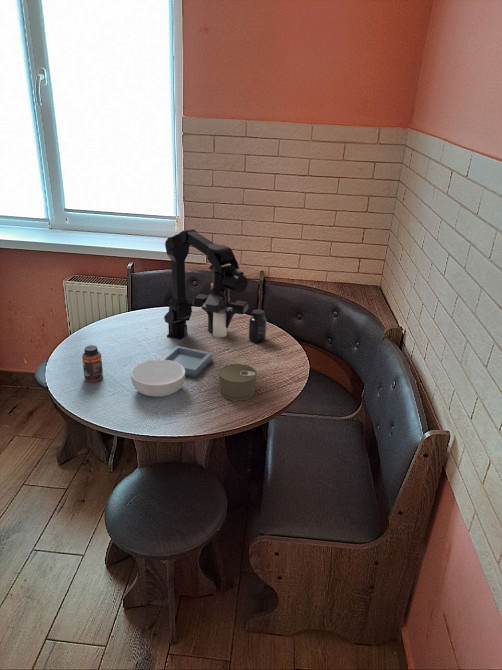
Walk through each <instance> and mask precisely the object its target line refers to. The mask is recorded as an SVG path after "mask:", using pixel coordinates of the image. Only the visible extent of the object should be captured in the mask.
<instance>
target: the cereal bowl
mask: <svg viewBox="0 0 502 670" xmlns="http://www.w3.org/2000/svg"><path fill="white" fill-rule="evenodd" d="M161 359H162V358H161ZM161 359H150V360H146V361H142V362H141V363H138V364H137V365H135V366H134V367H133V368H132V369H131V370H130V378H131V383H132V386H133V387H134V389H135V390H136V391H138V392H139V393H140V394H143V395H145V396H148V397H155V398H156V397H165V396H166V397H167V396H170V395H172V394H174V393H177V392H178V391H180V389H181V387H183V385H184V382H185V380H186V376H185V369H184V367H183V366H182V365H180V364H179V363H177V362H174V361H170V360H161Z"/></svg>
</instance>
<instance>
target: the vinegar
mask: <svg viewBox="0 0 502 670" xmlns="http://www.w3.org/2000/svg"><path fill="white" fill-rule="evenodd" d="M212 288H213V282H211V283H210V290H211V289H212ZM208 295H209V296H210V294H208ZM207 330H208V332H209V333H210V334H213V326H212V324H211V322H210V319H209V316H207Z"/></svg>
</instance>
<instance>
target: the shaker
mask: <svg viewBox="0 0 502 670" xmlns="http://www.w3.org/2000/svg"><path fill="white" fill-rule="evenodd" d="M228 310H229V309H228V308H225V309H220V312H218V313H215V312H213V333H212V336H213V337H216V338H225V337H227V335H228V328H226V319H227V315H226V312H227V311H228Z"/></svg>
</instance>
